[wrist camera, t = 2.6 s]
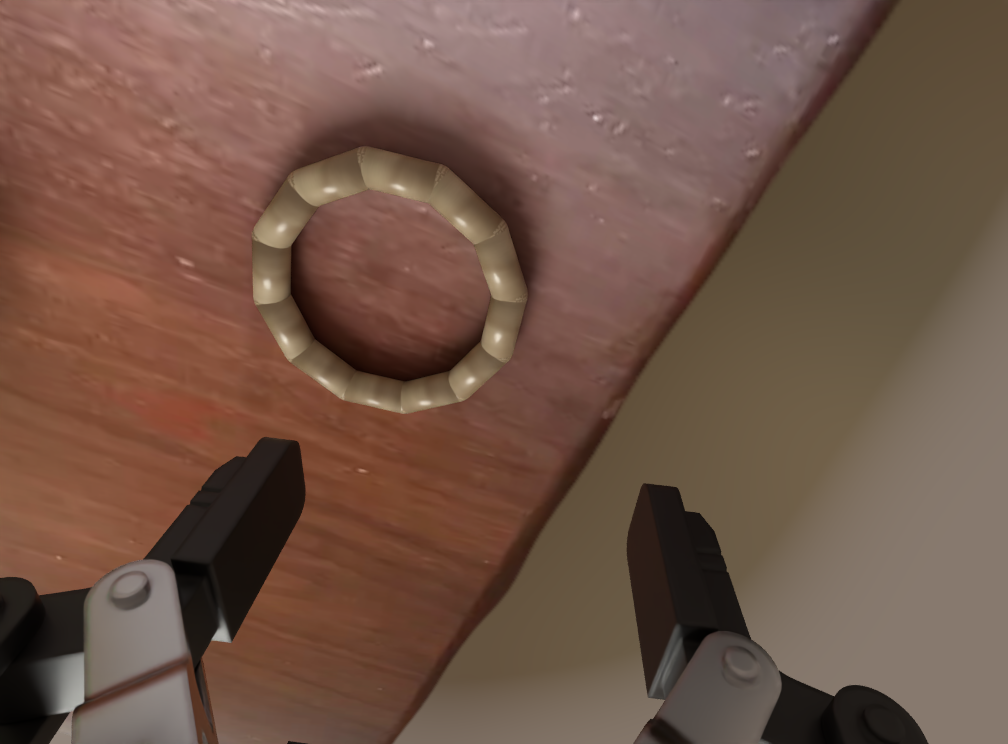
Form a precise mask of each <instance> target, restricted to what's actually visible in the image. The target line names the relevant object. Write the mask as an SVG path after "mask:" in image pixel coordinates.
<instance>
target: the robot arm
mask: <svg viewBox="0 0 1008 744" xmlns="http://www.w3.org/2000/svg"><path fill="white" fill-rule="evenodd" d="M304 502H305V482H304V474H303V467H302V459H301V451H300V446H299V443H298V442H297V441H294V440H285V439H277V438H269V437H263V438H262V439H260V440H259V441H258V443H257V444H256V445H255V447H254V448H253V449H252V451H251V452H250V453H249V455H248V456H247V457H238V456H236V457H234V458H233V459H231V460H230V461H228V462H227V463H225V464H224V465H222V466H221V467H219V468H218V469H216V470H215V471H214V473H213V474H212V475H211V476H210V477H209V479H208V480H207V481H206V482H205V484H204V485H203V486H202V489H201V491H198V492H197V494H196V495H195V496H194V497H193V499H192V500H191V501H190V505H187V506H186V507H185V508H184V510H183V511H182V512H181V513H180V515H179V516H178V517H177V518H176V520H175V521H174V522H173V523H172V525H171V526H170V527H169V528H168V530H167V531H166V532H165V533H164V534H163V536H162V537H161V538H160V539H159V541H158V542H157V543H156V544H155V546H154V547H153V548H152V549H151V551H150V552H149V553H148V554H147V556H146V557H145V558H144V559H143V560H139V561H134V562H130V563H127V564H125V565H122V566H120V567H118V568H116V569H114V570H112V571H111V572H109V573H107V574H106V575H105V576H103V577H102V578H101V579H100V580H99V581H97V582H96V583H95V584H94V586H93V587H91V588H86V589H80V590H73V591H66V592H60V593H53V594H46V595H38V593H37V591H36V589H35V588H34V586H33V585H32V583H31V582H29V581H28V580H26V579H23V578H18V577H5V578H0V744H49V743H50V741H51V740H52V738H53V737H54V735H55V734H56V732H57V731H58V729H59V728H60V726H61V725H62V723H63V722H64V720H65V719H66V717H67V716H68V714H69V713H70V711H73V716H72V740H71V743H72V744H218V739H217V733H216V728H215V722H214V717H213V712H212V706H211V701H210V696H209V690H208V685H207V680H206V674H205V669H204V663H203V660H202V655H203V654H204V652H205V650H206V649H207V647H208V645H209V643H210V642H211V640H215V641H223V642H230V643H231V642H232V641H233V639H234V637H235V635H236V633H237V631H238V630H239V628H240V626H241V624H242V622H243V620H244V619H245V617H246V615H247V613H248V611H249V609H250V608H251V606H252V604H253V602H254V600H255V598H256V597H257V595H258V593H259V591H260V589H261V587H262V585H263V584H264V582H265V580H266V578H267V576H268V574H269V573H270V571H271V569H272V567H273V565H274V563H275V562H276V560H277V558H278V556H279V554H280V552H281V551H282V549H283V547H284V545H285V543H286V541H287V540H288V538H289V536H290V534H291V532H292V530H293V528H294V527H295V525H296V523H297V521H298V519H299V517H300V515H301V513H302V510H303V507H304ZM627 560H628V566H629V573H630V580H631V587H632V593H633V600H634V607H635V613H636V621H637V626H638V634H639V641H640V648H641V654H642V661H643V668H644V675H645V681H646V688H647V694H648V697H649V698H655V699H663V700H665V701H664V703H663V705H662V706H661V708H660V709H659V711H658V712H657V714H656V715H655V717H654V718H653V719H650V720H649V721H648V722H647V724H646V725H645V726H644V728H643V729H642V731H641V732H640V734H639V736H638V737H637V739H636V740H635V742H634V744H928V742H927V740H926V738H925V736H924V734H923V732H922V731H921V729H920V727H919V726H918V724H917V723H916V722H915V720H914V719H913V718H912V717H911V716H910V715H909V713H908V712H906V711H905V710H904V709H903V708H902V707H901V706H900V705H899V704H897V703H896V702H895V701H894V700H892V699H891V698H889V697H888V696H886V695H884V694H883V693H881V692H879V691H877V690H874V689H872V688H869V687H865V686H860V685H851V686H846V687H843V688H842V689H841V690H839V691H838V693H837V694H836V695H835V697H834V696H832V695H829V694H827V693H825V692H822V691H820V690H818V689H815V688H813V687H811V686H808V685H806V684H804V683H801V682H799V681H797V680H795V679H793V678H790V677H788V676H787V675H785V674H783V673H782V672H780V671H779V670H778V668H777V666H776V665H775V663H774V661H773V660H772V658H771V657H770V656H769V654H768V653H767V652H766V651H765V650H764V649H763V648H762V647H761V646H760V645H758V644H757V643H756V642H754V641H753V640H751V637H750V635H749V632H748V629H747V627H746V623H745V620H744V617H743V615H742V612H741V609H740V606H739V603H738V600H737V597H736V594H735V591H734V588H733V585H732V582H731V579H730V576H729V573H728V572H727V571H726V569H727V567H726V564H725V561H724V558H723V556H722V555H721V549H720V547H719V544H718V541H717V538H716V535H715V532H714V530H713V529H712V528H711V527H710V525H709V524H708V523H707V522H706V521H705V519H704V518H703V517H702V516H701V514H700V513H695V512H687V511H685V509H684V506H683V502H682V499H681V495H680V492H679V490H678V488H677V487H671V486H662V485H654V484H643V485H642V487H641V489H640V493H639V496H638V500H637V503H636V507H635V510H634V514H633V517H632V521H631V524H630V528H629V531H628V537H627ZM287 744H306V743H298V742H291V741H288V743H287Z"/></svg>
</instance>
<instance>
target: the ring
mask: <svg viewBox="0 0 1008 744" xmlns="http://www.w3.org/2000/svg"><path fill="white" fill-rule="evenodd" d="M369 189H371V190H375V191H379V192H383V193H388V194H392V195H396V196H400V197H404V198H408V199H412V200H417V201H421V202H425V203H428V204H430V205H431V206H432V207H433V208H434V209H435V210H436V211H437V212H438V213H440V214H441V215H442V216H443V217H444V218H445V219H446V220H447V221H448V222H450V223H451V224H452V225H453V226H454V227H455V228H456V229H457V230H458V231H460V232H461V233H462V234H463V235H464V236H465V237H466V238H467V239H468V240H470V241H471V242H472V243H473V244H474V247H475V250H476V253H477V256H478V258H479V261H480V264H481V267H482V270H483V273H484V276H485V278H486V281H487V284H488V287H489V290H490V293H491V299H490V304H489V308H488V313H487V317H486V322H485V326H484V331H483V335H482V340H481V341H480V342H479V343H478V344H477V345H476V346H475V347H474V348H473V349H472V350H471V351H470V352H469V353H468V354H467V355H466V356H465V357H464V358H463V359H462V360H461V361H460V362H459V363H458V364H457V365H456V366H455V367H453V368H452V369H451V370H450V371H448V372H444V373H439V374H435V375H431V376H427V377H423V378H419V379H414V380H410V381H406V382H404V381H400V380H396V379H391V378H387V377H383V376H378V375H374V374H369V373H365V372H361V371H357V370H355V369H354V368H353V367H351V366H350V365H349V364H347V363H346V362H345V361H343V360H342V359H341V358H339V357H338V356H337V355H335V354H334V353H333V352H331V351H330V350H329V349H327V348H326V347H325V346H323V345H322V344H321V343H319V342H318V341H317V340H315V338H314V337H313V335H312V333H311V331H310V329H309V327H308V325H307V324H306V322H305V320H304V318H303V316H302V314H301V312H300V310H299V309H298V307H297V305H296V303H295V301H294V299H293V297H292V296H291V245H292V243H293V242H294V241H295V239H296V238H297V236H298V235H299V234H300V232H301V231H302V229H303V228H304V227H305V225H306V224H307V222H308V221H309V220H310V218H311V217H312V215H313V214H314V213H315V211H316V210H317V208H318V207H319V206H321V205H324V204H327V203H330V202H333V201H336V200H339V199H342V198H345V197H348V196H351V195H354V194H357V193H360V192H363V191H366V190H369ZM252 265H253V299H254V302H255V304H256V306H257V308H258V310H259V311H260V313H261V315H262V317H263V318H264V320H265V322H266V324H267V325H268V327H269V329H270V331H271V332H272V334H273V336H274V337H275V339H276V341H277V343H278V344H279V346H280V348H281V350H282V351H283V353H284V355H285V357H286V358H287V359H288V361H290V362H291V363H292V364H293V365H295V366H296V367H297V368H299V369H300V370H302V371H303V372H304V373H306V374H307V375H309V376H310V377H311V378H313V379H314V380H315V381H317V382H318V383H320V384H321V385H322V386H324V387H325V388H326V389H328V390H329V391H331V392H332V393H333V394H335V395H336V396H337V397H339V398H341V399H342V400H345V401H349V402H354V403H358V404H363V405H367V406H372V407H376V408H380V409H385V410H389V411H394V412H398V413H404V414H407V413H412V412H416V411H421V410H425V409H430V408H434V407H439V406H443V405H448V404H452V403H456V402H461V401H464V400H466V399H468V398H469V397H470V396H471V395H472V394H473V393H474V392H475V391H477V390H478V389H479V388H480V387H481V386H482V385H483V384H484V383H485V382H486V381H487V380H489V379H490V378H491V377H492V376H493V375H494V374H495V373H496V372H497V371H498V370H500V369H501V368H502V367H503V366H504V365H505V364H506V363H507V362H508V361H509V360H510V359H511V357H512V355H513V352H514V348H515V344H516V340H517V336H518V332H519V328H520V325H521V321H522V317H523V313H524V309H525V305H526V302H527V297H528V291H527V287H526V284H525V281H524V277H523V274H522V271H521V268H520V265H519V261H518V258H517V255H516V252H515V249H514V245H513V242H512V239H511V236H510V233H509V229H508V226H507V224H506V222H505V221H504V220H503V219H502V218H501V217H500V216H499V215H498V214H497V213H496V212H495V211H494V210H493V209H492V208H491V207H490V206H489V205H488V204H487V203H485V202H484V201H483V200H482V199H481V198H480V197H479V196H478V195H477V194H476V193H475V192H474V191H473V190H472V189H471V188H469V187H468V186H467V185H466V184H465V183H464V182H463V181H462V180H461V179H460V178H459V177H458V176H457V175H456V174H455V173H453V172H452V171H451V170H450V169H449V168H448V167H446V166H445V165H442V164H438V163H434V162H430V161H426V160H422V159H418V158H414V157H410V156H406V155H402V154H397V153H393V152H389V151H385V150H381V149H377V148H373V147H368V146H363V147H359V148H356V149H353V150H350V151H347V152H345V153H342V154H339V155H336V156H333V157H330V158H328V159H325V160H322V161H319V162H316V163H313V164H310V165H308V166H305V167H302V168H299V169H296V170H294V171H293V172H291V173H290V174H289V176H288V177H287V178H286V180H285V182H284V183H283V185H282V186H281V188H280V189H279V191H278V192H277V194H276V195H275V197H274V198H273V200H272V201H271V203H270V204H269V206H268V207H267V209H266V210H265V212H264V213H263V215H262V216H261V218H260V219H259V221H258V222H257V224H256V225H255V227H254V229H253V231H252Z"/></svg>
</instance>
